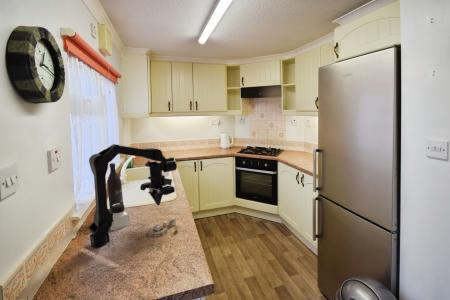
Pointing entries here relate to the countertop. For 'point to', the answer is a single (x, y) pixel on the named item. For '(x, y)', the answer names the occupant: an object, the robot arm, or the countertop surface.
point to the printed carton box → (119, 216)
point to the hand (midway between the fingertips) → (158, 205)
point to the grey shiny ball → (157, 228)
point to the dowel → (176, 228)
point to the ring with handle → (162, 227)
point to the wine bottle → (114, 187)
